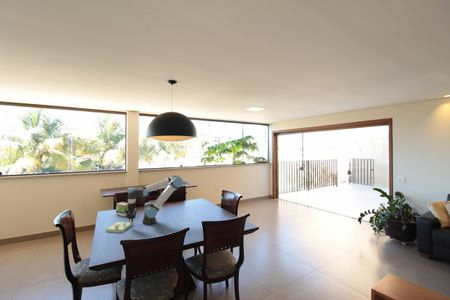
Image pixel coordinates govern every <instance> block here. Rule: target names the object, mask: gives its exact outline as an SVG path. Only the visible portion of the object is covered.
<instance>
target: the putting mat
mask: <svg viewBox="0 0 450 300" xmlns="http://www.w3.org/2000/svg"><path fill="white" fill-rule="evenodd" d="M123 223H126V225H125V226H123V225H122V224H123ZM116 225H117V226H118V229H115V226H116ZM133 225H134V224H133V222H132V225H130V222H129V221H128V222H125V221H117V222H115V223H113V224H112V225H110V226H109V227H107V228H105V233H122V234H123V233H124V232H125V231H127V230H128V229H129V228H130V227H132V226H133Z"/></svg>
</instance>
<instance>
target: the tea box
mask: <svg viewBox="0 0 450 300" xmlns="http://www.w3.org/2000/svg"><path fill="white" fill-rule="evenodd" d="M127 208H128V202H125V201H121V202H116V206H115V215H116V216H121V217H127V214H126V211H125V209H127ZM128 212H129V210H128Z"/></svg>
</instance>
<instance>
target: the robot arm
mask: <svg viewBox="0 0 450 300" xmlns="http://www.w3.org/2000/svg"><path fill="white" fill-rule="evenodd" d="M183 184H184V180H183V178H182V177H181V176H179V175H173V176H170V177H167V178H166V179H163V180H160V181H158V182H154V183H151V184H148V185H145V186H140V187H139V188H136V187H129V188H128V190H127V191H128V192H127V193H128V194H127V203H128V208H127V209H125V211H126V214H127V216H126V218H127V219H128V222H130V225H132V223H133V222H134V219H135V218H136V216H137V212H138V211H139V209H138V208H136V201H137V198H139V197H142V198H143V197H148V194H149V192H152V191H155V190H156V191H157V190H158V189H161V188H165V187H166V188H165V189H164V191H162V192H161V194H160V195H159V196H158V197H157V198H156V200H154V202H151V201H150V202H146V203H144V216H143V219H142V224H143V225H144V226H145V225H146V226H147V225H154V224H156V223H157V218H156V216H157V215H158V212H159V211H161V207H162V205H164V203H165V202H166V201H167V200H168V199H169V197H170V196H171V195H172V193H174V191H177V190H178V189H179V188H181V187H182V186H183ZM128 210H129V212H128ZM132 226H133V225H132Z"/></svg>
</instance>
